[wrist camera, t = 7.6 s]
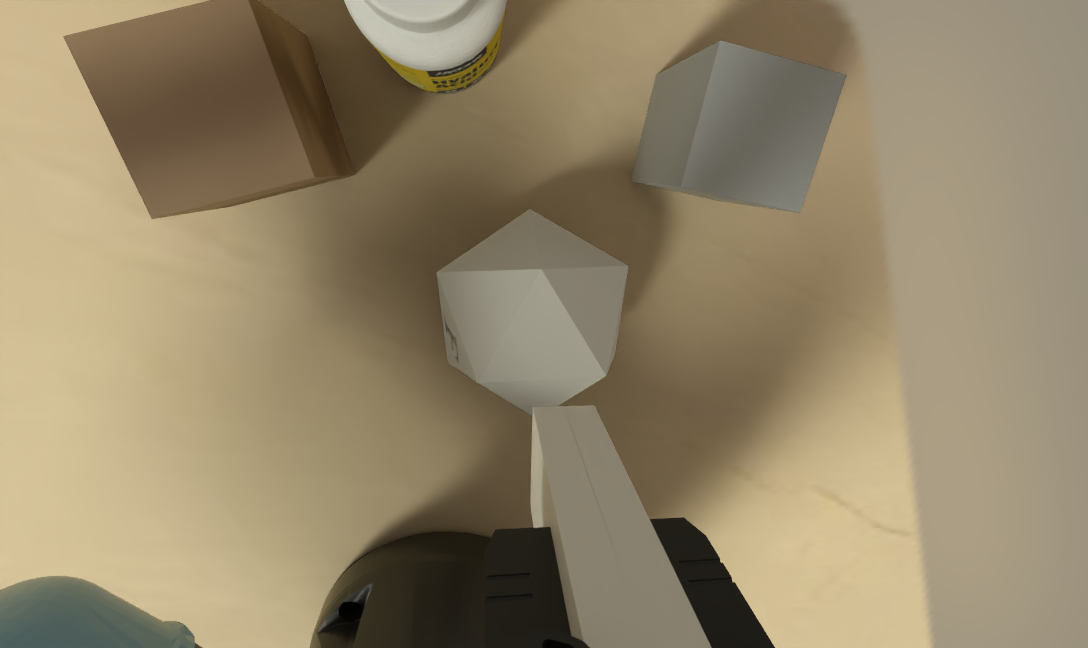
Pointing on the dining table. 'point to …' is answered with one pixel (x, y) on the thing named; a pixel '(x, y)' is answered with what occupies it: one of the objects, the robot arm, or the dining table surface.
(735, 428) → the dining table surface
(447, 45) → the supplement bottle
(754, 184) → the grey block
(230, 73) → the walnut block
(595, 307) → the die
